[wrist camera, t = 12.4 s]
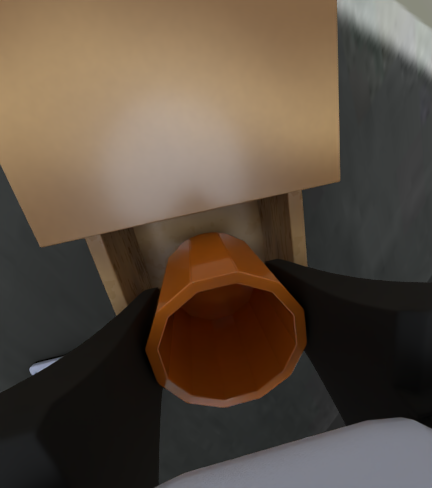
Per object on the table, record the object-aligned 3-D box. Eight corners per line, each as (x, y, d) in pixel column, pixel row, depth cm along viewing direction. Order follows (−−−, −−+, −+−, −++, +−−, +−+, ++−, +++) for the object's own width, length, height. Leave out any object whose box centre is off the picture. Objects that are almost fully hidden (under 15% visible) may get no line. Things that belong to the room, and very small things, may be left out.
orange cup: (265, 307, 13) (311, 384, 8) (177, 329, 13) (172, 422, 8) (252, 221, 11) (300, 255, 7) (151, 244, 11) (124, 298, 6)
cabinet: (272, 178, 18) (340, 181, 10) (108, 214, 18) (39, 247, 9) (242, -85, 13) (328, -483, 5) (12, -52, 13) (-301, -459, 5)
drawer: (285, 321, 22) (327, 383, 15) (161, 353, 21) (149, 432, 15) (259, 99, 16) (310, 47, 9) (83, 134, 15) (5, 103, 9)
